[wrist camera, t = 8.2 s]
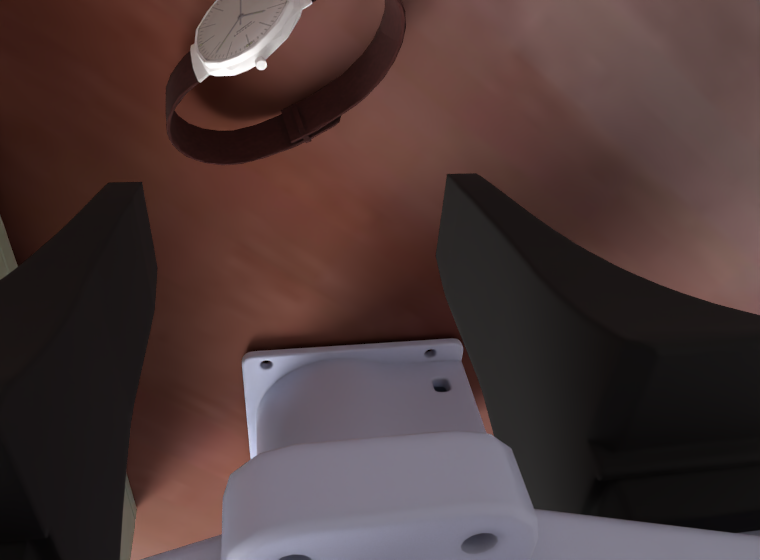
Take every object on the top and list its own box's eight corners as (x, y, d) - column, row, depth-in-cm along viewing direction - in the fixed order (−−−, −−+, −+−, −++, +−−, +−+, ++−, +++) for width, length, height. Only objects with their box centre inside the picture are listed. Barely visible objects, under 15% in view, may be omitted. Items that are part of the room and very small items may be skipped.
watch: (343, -100, 19) (361, -69, 16) (425, 42, 21) (452, 89, 19) (128, 59, 20) (110, 111, 17) (230, 170, 23) (228, 231, 20)
